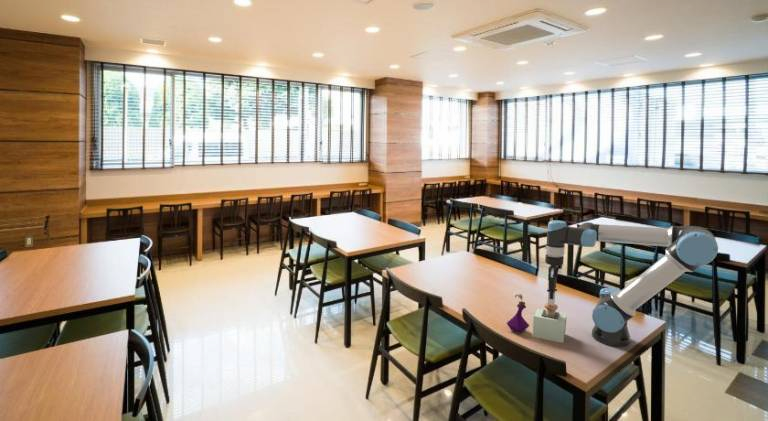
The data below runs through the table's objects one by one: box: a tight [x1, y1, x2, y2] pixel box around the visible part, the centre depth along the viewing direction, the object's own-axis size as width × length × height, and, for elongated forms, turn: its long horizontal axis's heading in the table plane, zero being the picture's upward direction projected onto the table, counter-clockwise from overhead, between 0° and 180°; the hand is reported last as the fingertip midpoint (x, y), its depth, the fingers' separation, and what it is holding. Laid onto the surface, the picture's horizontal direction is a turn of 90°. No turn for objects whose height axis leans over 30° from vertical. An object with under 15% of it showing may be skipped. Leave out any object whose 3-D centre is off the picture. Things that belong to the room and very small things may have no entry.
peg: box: [543, 302, 559, 317], centre depth 184 cm, size 6×6×10 cm
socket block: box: [532, 308, 568, 344], centre depth 184 cm, size 13×10×11 cm
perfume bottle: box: [506, 293, 530, 334], centre depth 188 cm, size 8×8×18 cm
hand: (550, 304), depth 183 cm, fingers closed
